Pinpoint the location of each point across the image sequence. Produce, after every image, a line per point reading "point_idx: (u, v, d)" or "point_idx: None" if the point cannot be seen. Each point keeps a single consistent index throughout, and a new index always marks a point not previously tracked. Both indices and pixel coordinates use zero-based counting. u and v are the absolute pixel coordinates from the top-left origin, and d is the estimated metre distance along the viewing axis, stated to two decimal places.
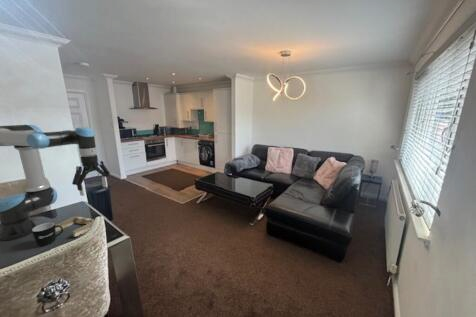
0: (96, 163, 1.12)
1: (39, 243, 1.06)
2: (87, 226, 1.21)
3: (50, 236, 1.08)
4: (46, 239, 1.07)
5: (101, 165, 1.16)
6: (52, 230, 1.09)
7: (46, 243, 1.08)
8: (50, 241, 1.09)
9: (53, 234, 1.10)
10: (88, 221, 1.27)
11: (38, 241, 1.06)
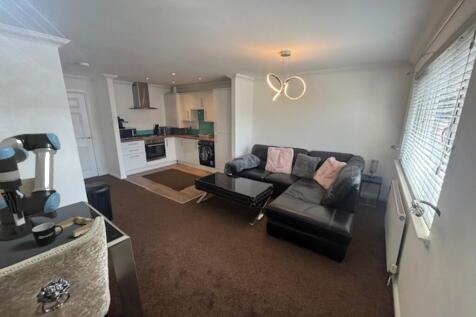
0: (13, 191, 0.93)
1: (39, 243, 1.06)
2: (87, 226, 1.21)
3: (50, 236, 1.08)
4: (46, 239, 1.07)
5: None
6: (52, 230, 1.09)
7: (46, 243, 1.08)
8: (50, 241, 1.09)
9: (53, 234, 1.10)
10: (88, 221, 1.27)
11: (38, 241, 1.06)
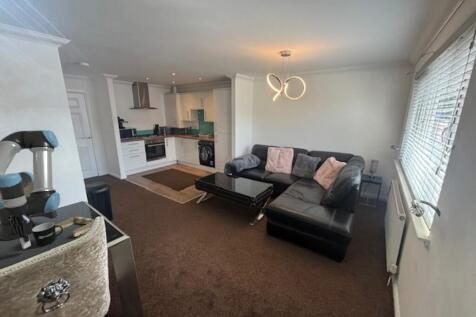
0: (19, 216, 0.95)
1: (39, 243, 1.06)
2: (87, 226, 1.21)
3: (50, 236, 1.08)
4: (46, 239, 1.07)
5: None
6: (52, 230, 1.09)
7: (46, 243, 1.08)
8: (50, 241, 1.09)
9: (53, 234, 1.10)
10: (88, 221, 1.27)
11: (38, 241, 1.06)
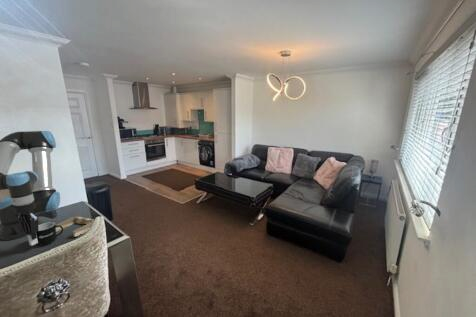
0: (27, 214, 0.98)
1: (39, 243, 1.06)
2: (87, 226, 1.21)
3: (50, 236, 1.08)
4: (46, 239, 1.07)
5: None
6: (52, 230, 1.09)
7: (46, 243, 1.08)
8: (50, 241, 1.09)
9: (53, 234, 1.10)
10: (88, 221, 1.27)
11: (38, 241, 1.06)
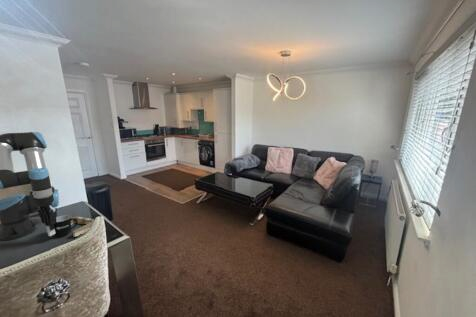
0: (47, 206, 1.06)
1: (56, 234, 1.14)
2: (87, 226, 1.21)
3: (66, 228, 1.16)
4: (62, 230, 1.14)
5: None
6: (68, 222, 1.17)
7: (62, 234, 1.15)
8: (66, 232, 1.16)
9: (69, 226, 1.17)
10: (88, 221, 1.27)
11: (55, 232, 1.13)
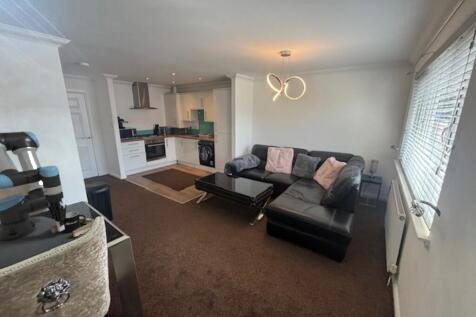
0: (57, 202, 1.11)
1: (65, 229, 1.18)
2: (87, 226, 1.21)
3: (75, 223, 1.20)
4: (71, 226, 1.19)
5: None
6: (77, 218, 1.21)
7: (71, 230, 1.19)
8: (74, 228, 1.21)
9: (77, 222, 1.22)
10: (88, 221, 1.27)
11: None
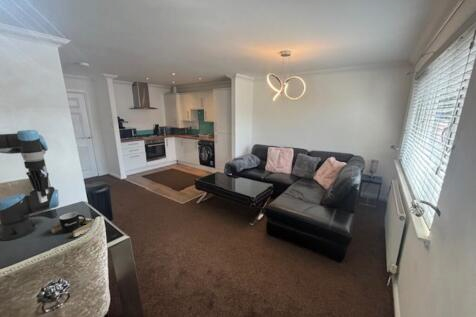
0: (38, 170, 1.01)
1: (65, 230, 1.18)
2: (87, 226, 1.21)
3: (74, 224, 1.20)
4: (71, 226, 1.19)
5: None
6: (76, 219, 1.21)
7: (71, 230, 1.20)
8: (74, 228, 1.21)
9: (77, 222, 1.22)
10: (88, 221, 1.27)
11: (64, 228, 1.18)
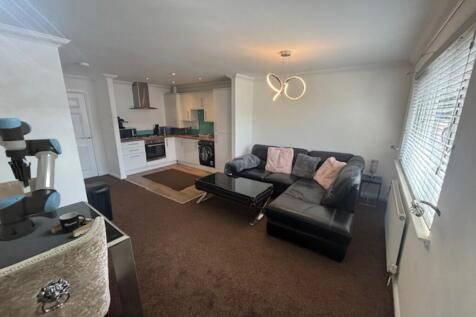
0: (19, 159, 0.99)
1: (65, 230, 1.18)
2: (87, 226, 1.21)
3: (74, 224, 1.20)
4: (71, 226, 1.19)
5: None
6: (76, 219, 1.21)
7: (71, 230, 1.20)
8: (74, 229, 1.21)
9: (77, 222, 1.22)
10: (88, 221, 1.27)
11: (64, 228, 1.18)
